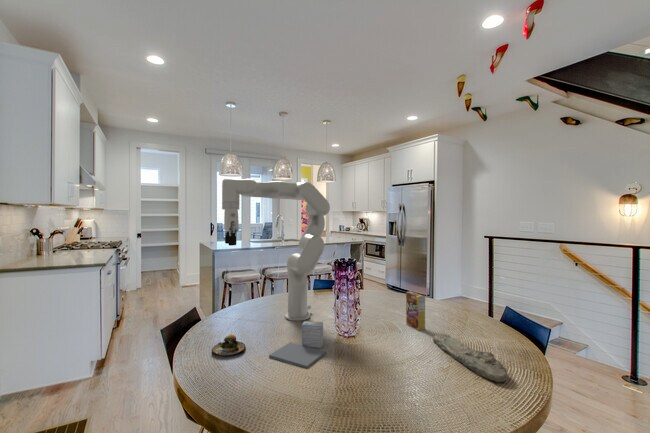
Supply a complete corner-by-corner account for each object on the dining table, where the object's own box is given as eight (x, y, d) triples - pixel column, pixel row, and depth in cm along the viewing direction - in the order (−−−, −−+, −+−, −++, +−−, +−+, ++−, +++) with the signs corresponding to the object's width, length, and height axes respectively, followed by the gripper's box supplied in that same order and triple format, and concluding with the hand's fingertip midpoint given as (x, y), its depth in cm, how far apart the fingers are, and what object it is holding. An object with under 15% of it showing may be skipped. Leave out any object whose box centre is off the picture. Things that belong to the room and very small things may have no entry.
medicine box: (323, 343, 124) (323, 321, 123) (321, 348, 119) (322, 325, 119) (303, 342, 124) (303, 320, 124) (301, 347, 120) (301, 324, 120)
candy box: (405, 324, 146) (405, 291, 146) (412, 323, 148) (412, 290, 148) (417, 330, 138) (418, 296, 138) (425, 329, 140) (425, 295, 140)
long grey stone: (448, 342, 130) (426, 345, 127) (447, 329, 130) (425, 332, 128) (518, 381, 96) (491, 387, 93) (517, 363, 96) (489, 369, 94)
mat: (290, 344, 123) (290, 342, 123) (326, 353, 115) (326, 351, 115) (269, 357, 111) (269, 355, 111) (307, 368, 103) (307, 365, 103)
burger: (204, 356, 112) (205, 335, 112) (226, 343, 123) (226, 324, 123) (232, 361, 108) (233, 340, 108) (252, 348, 119) (252, 328, 119)
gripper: (243, 206, 134) (243, 245, 134) (235, 206, 150) (235, 242, 150) (225, 205, 131) (224, 246, 131) (219, 206, 146) (219, 243, 146)
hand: (230, 244), depth 140 cm, fingers open, 9 cm apart
